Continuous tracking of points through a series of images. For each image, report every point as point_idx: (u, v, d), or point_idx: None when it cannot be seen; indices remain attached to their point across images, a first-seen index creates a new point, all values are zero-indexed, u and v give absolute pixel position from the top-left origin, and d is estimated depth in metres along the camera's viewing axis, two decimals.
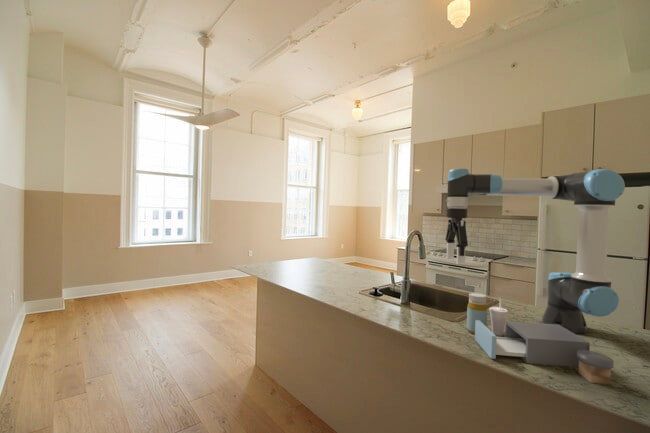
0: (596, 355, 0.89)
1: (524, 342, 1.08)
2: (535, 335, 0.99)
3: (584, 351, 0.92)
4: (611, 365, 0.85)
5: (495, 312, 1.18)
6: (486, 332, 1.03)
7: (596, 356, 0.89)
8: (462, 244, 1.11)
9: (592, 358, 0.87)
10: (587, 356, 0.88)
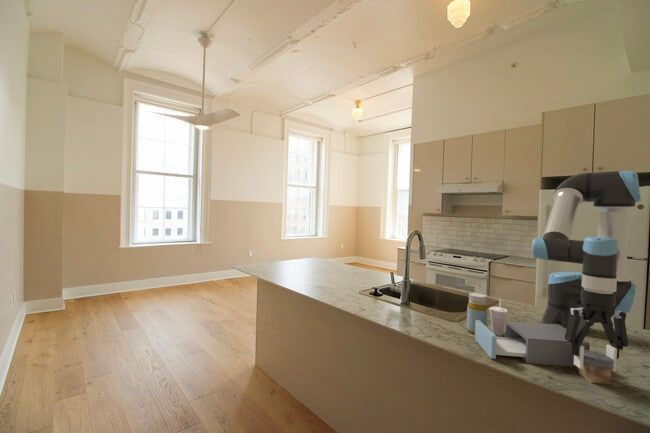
0: (596, 355, 0.89)
1: (524, 342, 1.08)
2: (535, 335, 0.99)
3: (584, 351, 0.92)
4: (611, 365, 0.85)
5: (495, 312, 1.18)
6: (486, 332, 1.03)
7: (596, 356, 0.89)
8: (566, 338, 0.90)
9: (592, 358, 0.87)
10: (587, 356, 0.88)
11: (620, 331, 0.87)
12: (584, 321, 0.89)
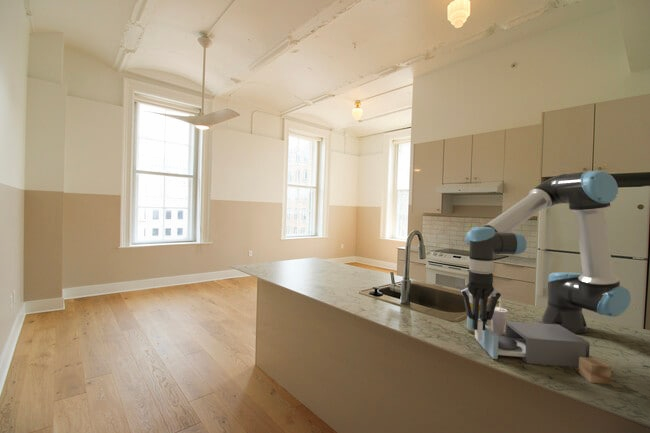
0: (500, 339, 1.06)
1: None
2: (535, 335, 0.99)
3: None
4: None
5: (495, 312, 1.18)
6: (488, 332, 1.03)
7: (503, 340, 1.05)
8: (467, 315, 1.07)
9: (510, 342, 1.04)
10: (509, 343, 1.03)
11: (490, 307, 1.05)
12: (474, 299, 1.06)
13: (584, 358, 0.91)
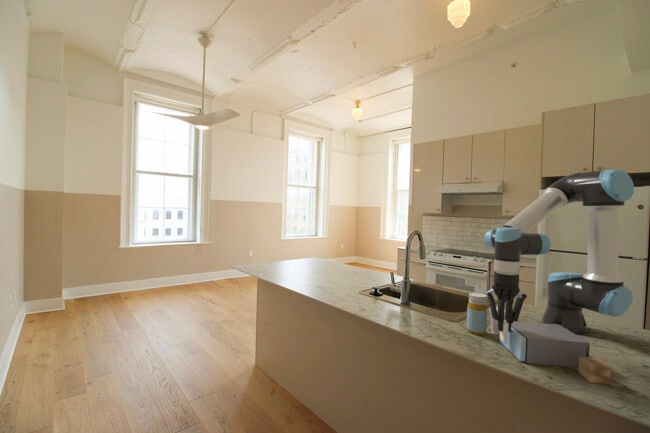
0: None
1: None
2: (535, 335, 0.99)
3: None
4: None
5: None
6: (514, 334, 1.02)
7: None
8: (492, 316, 1.06)
9: None
10: None
11: (516, 308, 1.04)
12: (499, 300, 1.05)
13: (584, 358, 0.91)
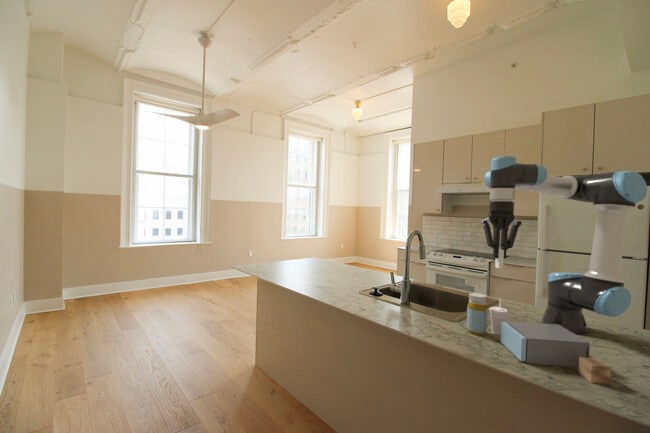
0: None
1: None
2: (535, 335, 0.99)
3: None
4: None
5: (495, 312, 1.18)
6: (514, 334, 1.02)
7: None
8: (488, 245, 1.08)
9: None
10: None
11: (511, 235, 1.06)
12: (494, 228, 1.07)
13: (584, 358, 0.91)
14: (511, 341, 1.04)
